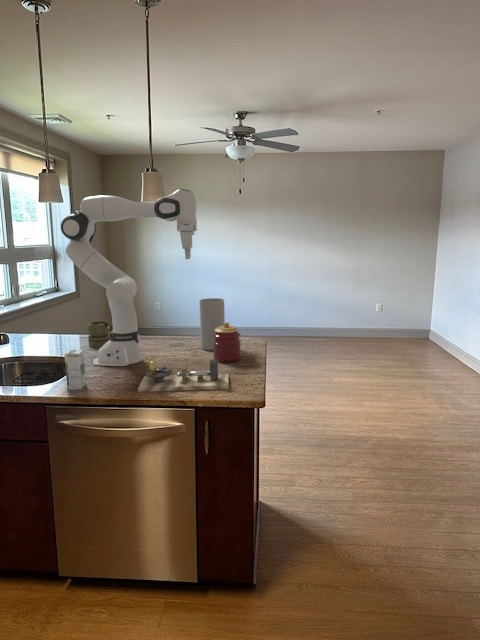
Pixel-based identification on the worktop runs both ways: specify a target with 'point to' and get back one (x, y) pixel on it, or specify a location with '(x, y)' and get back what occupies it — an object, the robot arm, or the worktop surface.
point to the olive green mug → (98, 333)
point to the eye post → (184, 373)
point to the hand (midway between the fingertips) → (188, 258)
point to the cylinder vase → (210, 320)
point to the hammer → (212, 373)
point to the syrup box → (75, 369)
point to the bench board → (176, 384)
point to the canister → (226, 343)
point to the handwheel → (157, 371)
